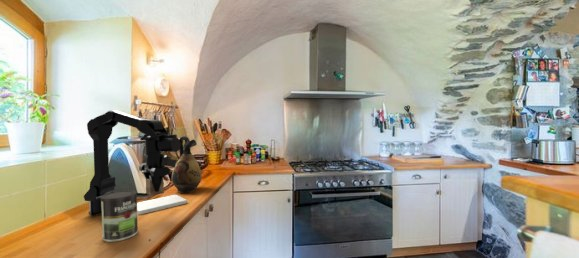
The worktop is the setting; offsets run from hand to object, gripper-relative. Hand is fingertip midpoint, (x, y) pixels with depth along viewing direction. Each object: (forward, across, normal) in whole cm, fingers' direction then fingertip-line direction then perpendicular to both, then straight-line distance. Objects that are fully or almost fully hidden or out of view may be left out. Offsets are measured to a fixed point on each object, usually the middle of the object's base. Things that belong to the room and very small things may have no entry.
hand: (154, 190), depth 104 cm
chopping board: (+11, +14, -6) cm, 19 cm away
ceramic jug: (+11, +29, -25) cm, 40 cm away
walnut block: (+1, 0, 0) cm, 1 cm away
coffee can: (+11, -9, +14) cm, 20 cm away
